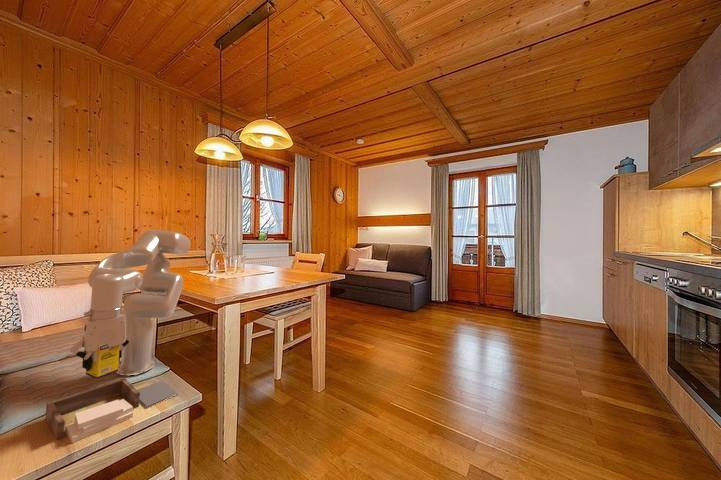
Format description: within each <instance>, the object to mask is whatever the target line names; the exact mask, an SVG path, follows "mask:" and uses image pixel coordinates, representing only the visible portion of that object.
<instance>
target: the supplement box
mask: <svg viewBox="0 0 721 480" xmlns="http://www.w3.org/2000/svg"><path fill="white" fill-rule="evenodd" d="M119 349H120V345H117V346H113V347H109V346H108V344H104V345H100V346H98V350H97V351H93V352H92V354H91V355H90V358H91V370H90V371H87V370H86V369H85V375H87V376H89V377H91V378H93V379H96V380H99V379H101V378H104V377H107V376H109V375H111V374H114V373H116V372H117V371H118V365H119V363H120V362H119Z"/></svg>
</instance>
